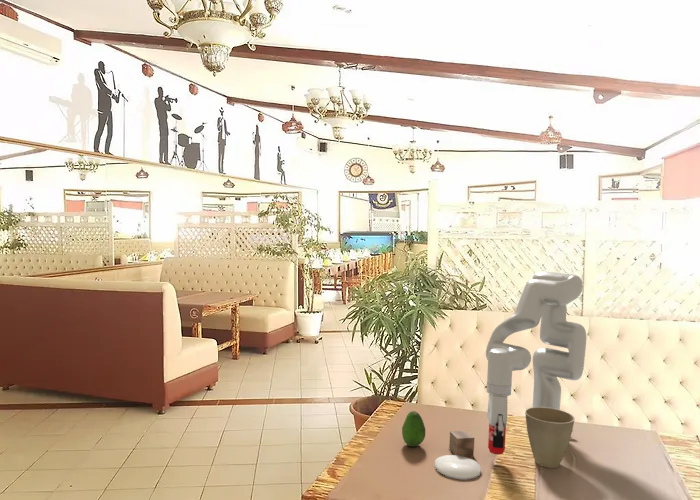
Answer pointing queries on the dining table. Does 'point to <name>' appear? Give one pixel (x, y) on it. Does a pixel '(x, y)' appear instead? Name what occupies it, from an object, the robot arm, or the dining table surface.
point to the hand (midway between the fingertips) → (496, 442)
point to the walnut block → (461, 443)
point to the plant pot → (548, 434)
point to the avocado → (413, 429)
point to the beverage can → (490, 441)
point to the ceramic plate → (458, 467)
